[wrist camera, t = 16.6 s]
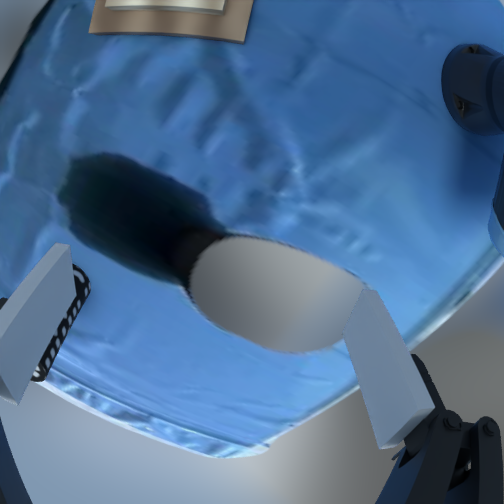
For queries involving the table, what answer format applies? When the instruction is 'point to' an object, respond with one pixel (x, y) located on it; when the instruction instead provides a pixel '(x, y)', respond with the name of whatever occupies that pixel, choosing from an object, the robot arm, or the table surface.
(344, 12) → the table surface
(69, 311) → the white-spotted black cylinder
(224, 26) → the two-tier square platform
